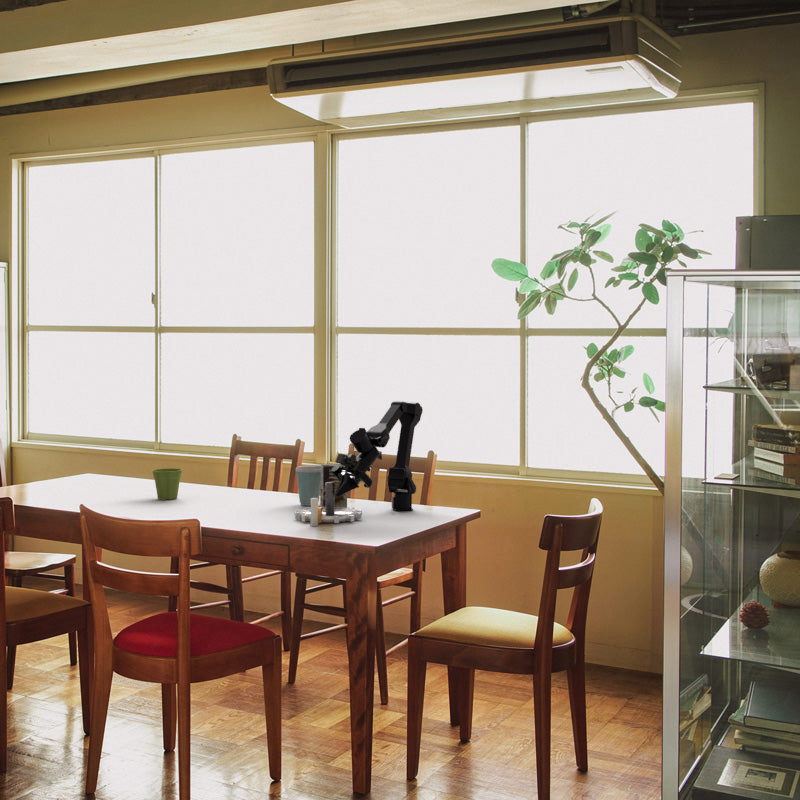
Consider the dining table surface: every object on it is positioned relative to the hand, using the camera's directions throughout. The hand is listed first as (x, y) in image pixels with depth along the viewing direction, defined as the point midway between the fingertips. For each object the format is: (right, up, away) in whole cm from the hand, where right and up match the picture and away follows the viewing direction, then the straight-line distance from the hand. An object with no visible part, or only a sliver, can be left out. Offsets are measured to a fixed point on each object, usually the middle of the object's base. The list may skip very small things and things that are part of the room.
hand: (336, 495), depth 325 cm
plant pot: (-68, -6, +50) cm, 85 cm away
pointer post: (-7, -9, -5) cm, 13 cm away
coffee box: (-3, -8, +28) cm, 29 cm away
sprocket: (-3, -9, +8) cm, 12 cm away
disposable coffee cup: (-12, -7, +37) cm, 40 cm away
